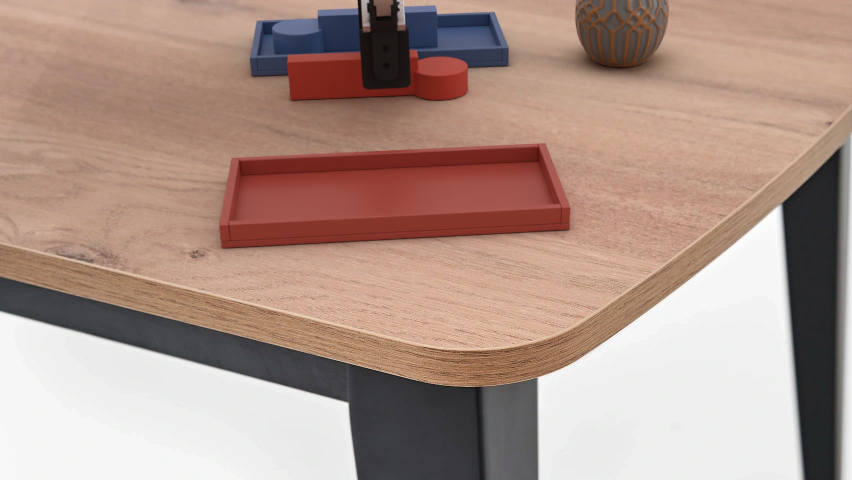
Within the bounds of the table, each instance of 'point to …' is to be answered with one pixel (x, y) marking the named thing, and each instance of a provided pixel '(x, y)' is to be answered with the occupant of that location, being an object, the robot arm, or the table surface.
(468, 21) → the blue tray
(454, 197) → the red tray
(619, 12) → the vase
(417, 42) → the blue disc-ended bar
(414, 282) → the table surface
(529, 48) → the table surface
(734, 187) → the table surface
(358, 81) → the red disc-ended bar
